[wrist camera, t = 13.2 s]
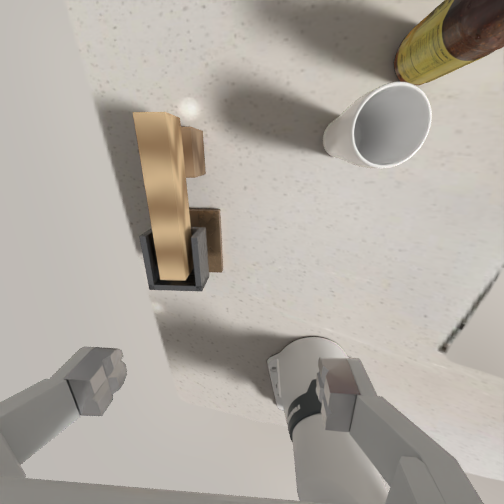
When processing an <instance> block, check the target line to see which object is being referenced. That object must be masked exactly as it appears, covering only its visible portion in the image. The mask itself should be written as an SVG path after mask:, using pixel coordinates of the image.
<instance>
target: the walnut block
mask: <svg viewBox="0 0 504 504" xmlns="http://www.w3.org/2000/svg"><path fill="white" fill-rule="evenodd" d="M181 135H182V145H183V155H184V165H185V174H186V178H195V177H198V176H201V175H204V174H206V172H205V158H204V143H203V131H201V130H198V129H196V128H193V127H181Z"/></svg>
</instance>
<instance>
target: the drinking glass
mask: <svg viewBox="0 0 504 504" xmlns="http://www.w3.org/2000/svg"><path fill="white" fill-rule="evenodd" d="M431 119H432V112H431V106H430V103H429V100H428V98H427V96H426V95H425V93H424V92H423V91H422V90H421V89H420V88H418V87H417V86H415V85H413V84H411V83H407V82H392V83H388V84H385V85H383V86H380V87H378V88H376V89H374V90H372V91H370V92H368V93H367V94H365V95H363V96H362V97H360V98H359V99H357V100H356V101H355V102H354V103H352V104H351V105H350V106H349V107H348V108H347V109H346V110H345V111H344V112H343V113H342V114H341V115H340V116H339V117H337V118H336V119H335V120H333V121H332V122H331V123H330V124H329V125H328V126H327V128H326V130H325V132H324V135H323V145H324V148H325V150H326V152H327V153H328V154H329V155H330V156H332V157H335V158H339V159H342V160H344V161H347V162H349V163H351V164H354V165H357V166H361V167H366V168H390V167H394V166H397V165H399V164H401V163H403V162H405V161H406V160H408V159H409V158H411V157H412V156H413V155H414V154H415V153H416V152H417V151H418V150H419V148H420V147H421V146H422V144H423V143H424V141H425V139H426V137H427V135H428V133H429V130H430V126H431Z"/></svg>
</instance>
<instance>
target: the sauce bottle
mask: <svg viewBox="0 0 504 504" xmlns="http://www.w3.org/2000/svg"><path fill="white" fill-rule="evenodd" d="M502 47H504V0H445V1H443V2H442V3H441V4H440V5H439V6H438V7H436V8H435V10H433V11H432V12H431V13H430V14H429V15H428V16H427V17H426V18H424V19H423V20H422V21H421V22H420V23H419V24H418V25H417V26H416V27H414V28H413V29H412V30H411V31H410V32H409V34H408V35H407V36H406V37H405V38H404V40H403V41H402V43H401V45H400V47H399V49H398V51H397V54H396V57H395V62H394V66H395V72H396V74H397V77H398V78H399V80H400V81H401V82H407V83H411V84H413V85H421V84H424V83H428V82H430V81H433V80H435V79H437V78H439V77H441V76H444V75H446V74H448V73H450V72H452V71H455V70H457V69H459V68H461V67H463V66H465V65H468V64H470V63H472V62H474V61H476V60H479V59H481V58H483V57H485V56H487V55H489V54H490V53H492V52H494V51H495V50H497V49H500V48H502Z"/></svg>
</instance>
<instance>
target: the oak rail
mask: <svg viewBox="0 0 504 504" xmlns="http://www.w3.org/2000/svg"><path fill="white" fill-rule="evenodd" d="M133 118H134V124H135V130H136V136H137V142H138V148H139V154H140V160H141V166H142V172H143V178H144V184H145V190H146V196H147V202H148V208H149V214H150V220H151V226H152V232H153V238H154V244H155V250H156V256H157V262H158V268H159V274H160V280H186V279H187V277H188V276H189V274H190V273H191V271H192V270H193V268H194V262H193V252H192V242H191V237H192V234H191V224H190V214H189V204H188V194H187V184H186V174H185V165H184V155H183V145H182V135H181V125H180V118H178V117H176V116H174V115H171V114H169V113H166V112H133Z"/></svg>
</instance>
